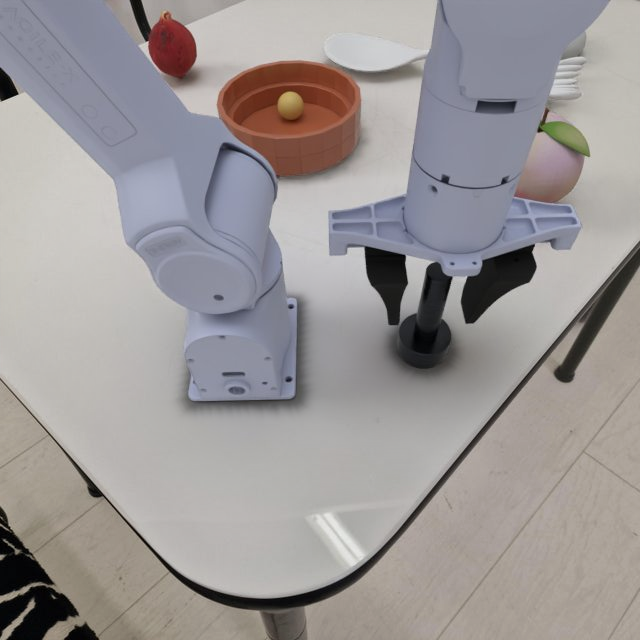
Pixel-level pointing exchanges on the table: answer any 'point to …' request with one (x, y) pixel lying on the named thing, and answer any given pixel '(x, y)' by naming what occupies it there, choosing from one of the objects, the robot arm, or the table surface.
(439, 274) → the black joystick
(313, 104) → the bowl
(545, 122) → the decorative fruit
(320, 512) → the table surface
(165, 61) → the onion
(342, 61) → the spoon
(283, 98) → the ball
